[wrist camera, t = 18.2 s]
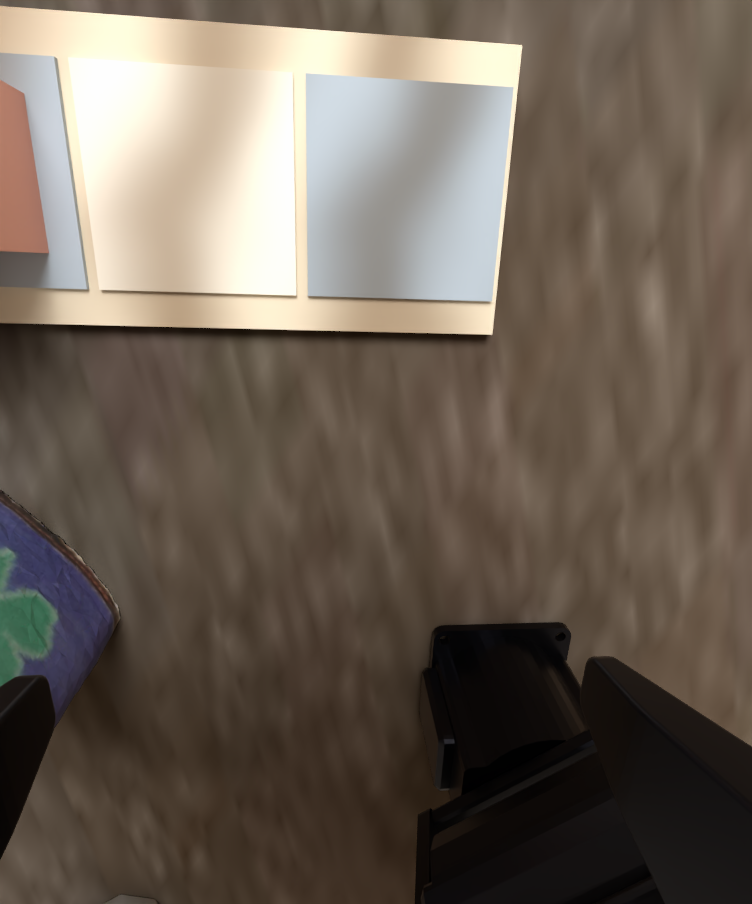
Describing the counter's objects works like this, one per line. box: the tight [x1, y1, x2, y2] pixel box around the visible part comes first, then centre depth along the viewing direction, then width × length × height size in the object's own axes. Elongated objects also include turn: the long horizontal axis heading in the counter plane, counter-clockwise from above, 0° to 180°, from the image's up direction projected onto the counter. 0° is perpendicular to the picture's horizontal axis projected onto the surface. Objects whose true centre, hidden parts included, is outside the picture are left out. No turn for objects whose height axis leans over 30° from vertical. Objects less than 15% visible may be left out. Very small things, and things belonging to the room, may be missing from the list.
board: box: [0, 6, 522, 335], centre depth 17 cm, size 21×9×1 cm, turn 88°
